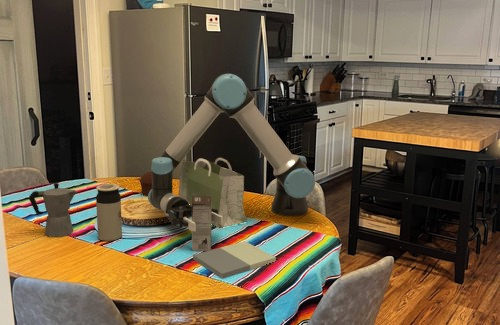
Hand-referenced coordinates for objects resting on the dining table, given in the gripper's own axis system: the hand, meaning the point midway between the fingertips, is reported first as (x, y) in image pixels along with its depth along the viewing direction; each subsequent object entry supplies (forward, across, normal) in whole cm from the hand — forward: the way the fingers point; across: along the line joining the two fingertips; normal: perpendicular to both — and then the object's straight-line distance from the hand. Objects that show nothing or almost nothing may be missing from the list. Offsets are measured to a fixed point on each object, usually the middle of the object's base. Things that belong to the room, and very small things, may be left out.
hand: (208, 224), depth 154 cm
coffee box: (-4, 0, -9) cm, 10 cm away
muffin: (-68, -14, -9) cm, 70 cm away
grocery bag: (-29, -20, -9) cm, 37 cm away
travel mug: (-28, +22, -9) cm, 37 cm away
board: (+12, -2, -9) cm, 15 cm away
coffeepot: (-42, +36, -9) cm, 56 cm away
